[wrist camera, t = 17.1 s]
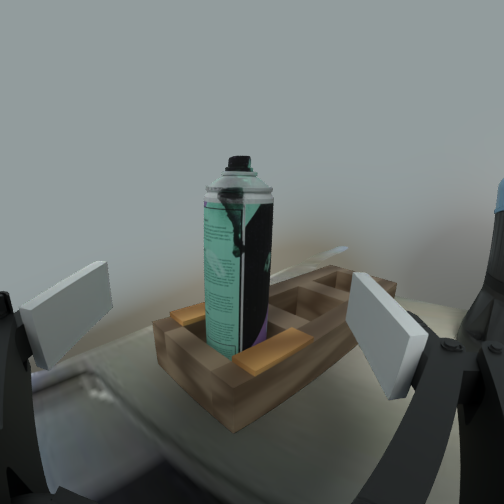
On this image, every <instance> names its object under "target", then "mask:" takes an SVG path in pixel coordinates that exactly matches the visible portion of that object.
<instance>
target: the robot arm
mask: <svg viewBox="0 0 504 504" xmlns="http://www.w3.org/2000/svg"><path fill="white" fill-rule="evenodd" d="M494 214H495V222H494V230H493V237H492V244H491V250H490V256H489V261H488V266H487V271H486V276H485V280H484V284H483V287H482V289H481V291H480V292H479V294H478V296H477V298H476V299H475V301H474V303H473V304H472V306H471V307H470V309H469V311H468V312H467V314H466V315H465V317H464V319H463V320H462V323H461V326H460V329H459V332H458V335H457V341H456V340H454V339H450V338H439V337H438V336H437V335H436V334H435V333H434V332H433V331H432V330H431V329H430V328H429V327H428V326H427V325H426V324H425V323H423V321H422V320H421V319H420V318H419V317H418V316H417V315H415V314H413V313H411V312H409V311H405V310H404V309H403V308H402V307H401V306H400V305H399V304H398V303H397V302H396V301H395V300H394V299H393V298H392V297H391V296H390V295H389V294H388V293H387V292H386V291H385V290H384V289H383V288H382V287H381V286H380V285H379V284H378V283H377V282H376V281H375V280H374V279H373V278H372V277H371V276H369V275H368V274H367V273H363V272H360V273H359V272H353V275H352V282H351V289H350V296H349V302H348V308H347V314H346V322H347V324H348V326H349V328H350V329H351V331H352V333H353V335H354V337H355V338H356V340H357V342H358V344H359V346H360V347H361V349H362V351H363V353H364V355H365V357H366V359H367V360H368V362H369V364H370V366H371V368H372V370H373V372H374V374H375V375H376V377H377V379H378V381H379V383H380V385H381V387H382V389H383V391H384V393H385V395H386V397H387V399H388V400H393V399H400V398H406V396H407V394H408V391H409V389H410V386H411V385H412V387H413V388H414V390H415V393H414V395H413V398H412V400H411V402H410V404H409V406H408V409H407V411H406V413H405V415H404V417H403V419H402V421H401V423H400V425H399V427H398V429H397V431H396V433H395V435H394V437H393V438H392V440H391V442H390V444H389V446H388V448H387V449H386V451H385V453H384V455H383V456H382V458H381V460H380V461H379V463H378V465H377V466H376V468H375V470H374V471H373V473H372V474H371V476H370V477H369V479H368V480H367V482H366V483H365V485H364V486H363V488H362V489H361V491H360V492H359V494H358V495H357V496H356V498H355V499H354V500H353V502H352V503H351V504H425V503H426V500H427V498H428V496H429V493H430V491H431V489H432V486H433V484H434V481H435V478H436V476H437V473H438V470H439V468H440V465H441V462H442V459H443V456H444V453H445V449H446V446H447V443H448V439H449V436H450V432H451V428H452V425H453V421H454V416H455V412H456V408H457V411H458V421H459V435H460V464H461V470H460V498H459V504H504V178H503V180H502V181H501V182H500V184H499V187H498V195H497V203H496V209H495V210H494ZM112 308H113V304H112V297H111V291H110V283H109V274H108V264H107V262H105V261H95V262H94V263H92V264H90V265H88V266H86V267H85V268H83V269H81V270H79V271H78V272H76V273H74V274H72V275H71V276H69V277H67V278H66V279H64V280H62V281H60V282H59V283H57V284H55V285H54V286H52V287H50V288H49V289H47V290H46V291H44V292H42V293H41V294H39V295H38V296H36V297H34V298H33V299H31V300H29V301H28V302H26V303H25V304H23V305H22V306H20V307H19V310H18V311H17V312H15V313H13V308H12V304H11V300H10V296H9V293H8V292H5V291H1V292H0V504H99V503H97V502H95V501H93V500H90V499H88V498H85V497H83V496H80V495H78V494H76V493H74V492H71V491H69V490H67V489H65V488H63V487H60V486H59V488H58V489H57V491H56V493H55V494H51V493H50V491H49V489H48V486H47V483H46V479H45V475H44V471H43V466H42V462H41V457H40V452H39V446H38V441H37V434H36V427H35V420H34V411H33V400H32V385H31V366H30V363H29V360H28V358H29V357H30V356H32V355H33V357H34V360H35V362H36V365H37V367H40V368H43V369H46V370H50V369H51V368H52V367H53V366H54V365H55V364H56V363H57V362H58V361H59V360H60V359H61V358H62V357H63V356H64V355H65V354H66V353H67V352H68V351H69V350H70V349H71V348H72V347H73V346H74V345H75V344H76V343H77V342H78V341H79V340H80V339H81V338H82V337H83V336H84V335H85V334H86V333H87V332H88V331H89V330H90V329H91V328H92V327H93V326H94V325H95V324H96V323H97V322H98V321H99V320H100V319H101V318H102V317H103V316H104V315H106V314H107V313H108V312H109V311H110V310H111V309H112Z"/></svg>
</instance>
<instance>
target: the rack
mask: <svg viewBox="0 0 504 504" xmlns="http://www.w3.org/2000/svg"><path fill="white" fill-rule="evenodd" d="M353 272H355V271H351V270H347V269H344V268H340V267H336V266H333V265H329V266H326V267H323V268H320V269H318V270H315V271H312V272H309V273H306V274H303V275H300V276H297V277H294V278H291V279H288V280H285V281H282V282H279V283H276V284H273V285H270V286H269V304H268V321H267V337H266V340H265V341H263V342H261V343H259V344H257V345H255V346H253V347H250V348H248V349H246V350H244V351H242V352H240V353H238V354H235V355H233V356H232V361H230V360H229V359H228V358H226V357H225V356H223V355H222V354H220V353H219V352H217V351H216V350H215V349H213V348H212V347H210V346H209V345H208V344H207V340H206V316H205V302H203V303H200V304H196V305H193V306H189V307H186V308H182V309H179V310H175V311H172V312H170V317H167V318H164V319H160V320H156V321H153V331H154V338H155V345H156V352H157V359H158V364H159V365H160V366H161V367H162V368H163V369H164V370H165V371H166V372H167V373H168V374H169V375H170V376H171V377H172V378H173V379H174V380H175V381H176V382H177V383H178V384H179V385H180V386H181V387H182V388H183V389H184V390H185V391H186V392H187V393H188V394H189V395H190V396H191V397H192V398H193V399H194V400H196V401H197V402H198V403H199V404H200V405H201V406H202V407H203V408H204V409H205V410H207V411H208V412H209V413H210V414H211V415H212V416H213V417H214V418H216V419H217V420H218V421H219V422H220V423H221V424H223V425H224V426H225V427H226V428H227V429H229V430H230V431H231V432H232V433H233V434H234V433H235V432H237V431H239V430H240V429H242V428H244V427H245V426H247V425H249V424H250V423H252V422H253V421H255V420H257V419H258V418H260V417H261V416H263V415H264V414H266V413H267V412H269V411H271V410H272V409H274V408H275V407H276V406H278V405H279V404H281V403H282V402H284V401H285V400H287V399H288V398H290V397H291V396H292V395H294V394H295V393H297V392H298V391H299V390H301V389H302V388H303V387H305V386H306V385H307V384H309V383H310V382H311V381H313V380H314V379H315V378H317V377H318V376H319V375H321V374H322V373H323V372H324V371H326V370H327V369H328V368H330V367H331V366H332V365H333V364H335V363H336V362H337V361H338V360H339V359H341V358H342V357H343V356H344V355H346V354H347V353H348V352H349V351H350V350H351V349H353V348H354V347H355V346H356V345H357V344H358V342H357V340H356V338H355V337H354V335H353V333H352V331H351V329H350V328H349V326H348V324H347V322H346V314H347V308H348V302H349V296H350V289H351V282H352V275H353ZM369 276H370V275H369ZM371 277H372V278H373V279H374V280H375V281H376V282H377V283H378V284H379V285H380V286H381V287H382V288H383V289H384V290H385V291H386V292H387V293H388V294H389V295H390V296H391V297H392V298H393V299H394V297H395V292H396V286H397V283H395V282H392V281H388V280H385V279H381V278H377V277H373V276H371Z"/></svg>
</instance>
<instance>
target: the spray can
mask: <svg viewBox="0 0 504 504" xmlns="http://www.w3.org/2000/svg"><path fill="white" fill-rule="evenodd" d="M250 167H251V159H250V156H233V157H231V158H229V162H228V167H226V168H225V172H222V175H223V176H222V177H220V178H218V179H217V180H215V181H214V182H213V183H212V184H210V185H209V186H206V190H207V193H206V195H205V196H204V277H205V278H204V280H205V316H206V340H207V344H208V345H209V346H210V347H212V348H213V349H215V350H216V351H217V352H219V353H220V354H222V355H223V356H225V357H226V358H228V359H229V360H230V361H232V356H233V355H235V354H238V353H240V352H242V351H244V350H246V349H248V348H250V347H253V346H255V345H257V344H259V343H261V342H263V341H265V340H266V337H267V321H268V304H269V286H270V267H271V247H272V225H273V202H274V198H273V196H272V195H271V192H272V190H273V188H272V187H269V186H268V185H266V184H265V183H264V182H263V181H262V180H260V179H259V178H257V177H256V176H257V173H256V172H253V168H250Z"/></svg>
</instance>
